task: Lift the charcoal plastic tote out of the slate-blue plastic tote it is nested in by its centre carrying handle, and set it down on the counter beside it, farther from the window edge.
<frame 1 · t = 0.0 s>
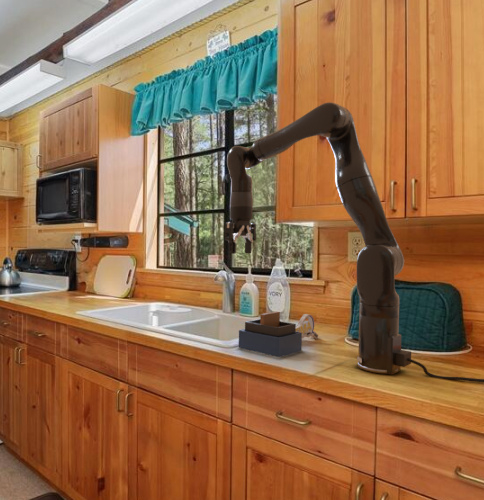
hand: (240, 253, 148), 29 cm above the worktop, tool pointing down, fingers open, 8 cm apart
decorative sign: (302, 342, 146), on the worktop
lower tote: (269, 350, 133), on the worktop, touching upper tote
upper tote: (269, 348, 133), point 1 cm above the worktop, touching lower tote
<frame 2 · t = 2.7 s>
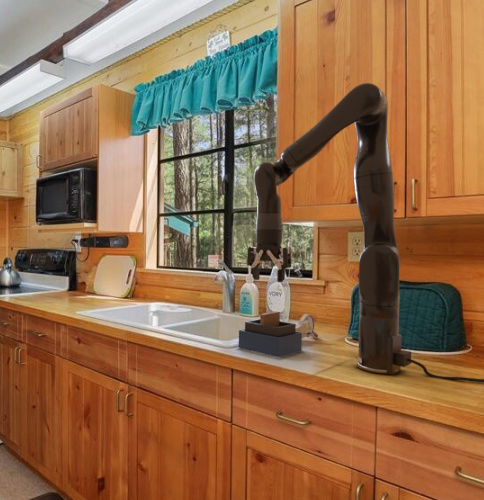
hand: (268, 280, 134), 21 cm above the worktop, tool pointing down, fingers open, 8 cm apart
nothing on the worktop moved.
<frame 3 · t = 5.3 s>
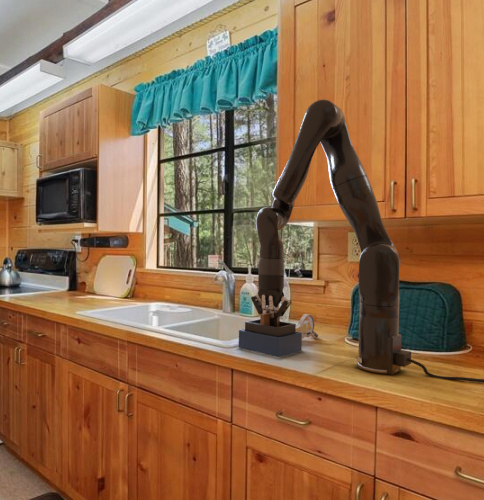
hand: (270, 329, 133), 7 cm above the worktop, tool pointing down, fingers closed on upper tote
upper tote: (269, 348, 133), point 1 cm above the worktop, touching gripper, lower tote
everything else where it was.
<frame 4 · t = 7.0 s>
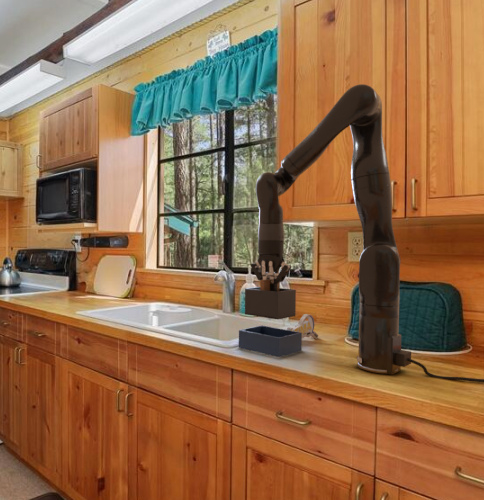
hand: (270, 295, 133), 17 cm above the worktop, tool pointing down, fingers closed on upper tote
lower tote: (269, 350, 133), on the worktop
upper tote: (269, 315, 133), point 11 cm above the worktop, touching gripper
everything else where it was.
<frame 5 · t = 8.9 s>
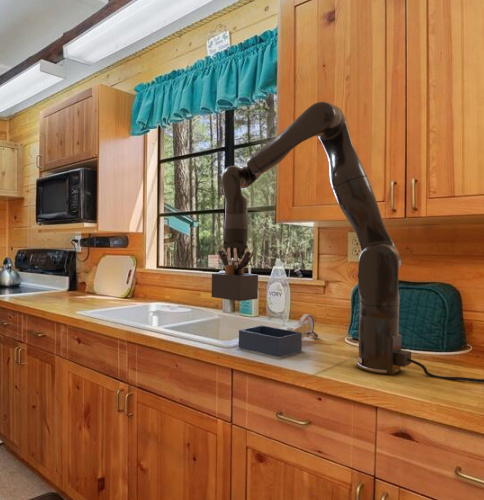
hand: (234, 279, 144), 21 cm above the worktop, tool pointing down, fingers closed on upper tote
upper tote: (234, 297, 144), point 15 cm above the worktop, touching gripper
everything else where it was.
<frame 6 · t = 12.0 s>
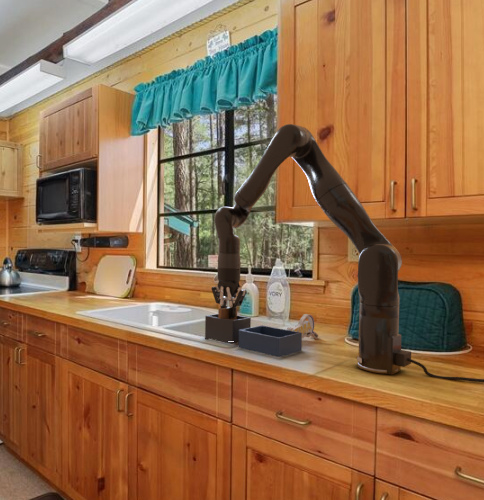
hand: (228, 317, 147), 8 cm above the worktop, tool pointing down, fingers closed
upper tote: (227, 340, 147), on the worktop
everything else where it was.
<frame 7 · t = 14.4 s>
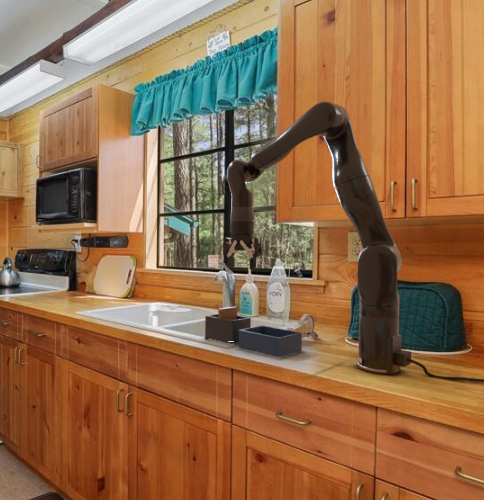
hand: (241, 268, 146), 24 cm above the worktop, tool pointing down, fingers open, 8 cm apart
nothing on the worktop moved.
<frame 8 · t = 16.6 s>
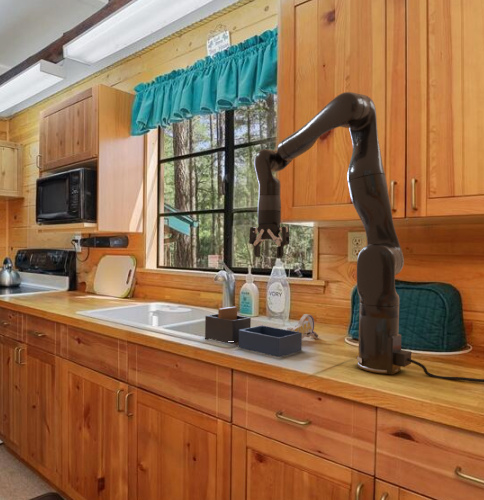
hand: (268, 257, 147), 28 cm above the worktop, tool pointing down, fingers open, 8 cm apart
nothing on the worktop moved.
at the end: upper tote inside the target area (0.2 cm from its centre), on the worktop; upper tote touching worktop; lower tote moved 0.0 cm from its start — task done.
